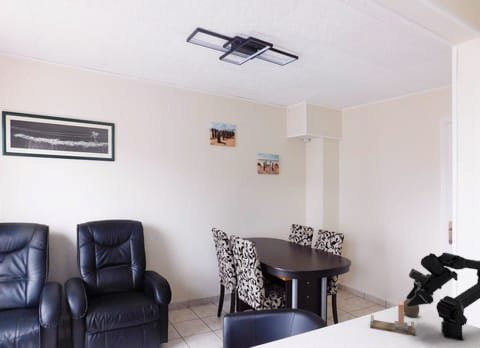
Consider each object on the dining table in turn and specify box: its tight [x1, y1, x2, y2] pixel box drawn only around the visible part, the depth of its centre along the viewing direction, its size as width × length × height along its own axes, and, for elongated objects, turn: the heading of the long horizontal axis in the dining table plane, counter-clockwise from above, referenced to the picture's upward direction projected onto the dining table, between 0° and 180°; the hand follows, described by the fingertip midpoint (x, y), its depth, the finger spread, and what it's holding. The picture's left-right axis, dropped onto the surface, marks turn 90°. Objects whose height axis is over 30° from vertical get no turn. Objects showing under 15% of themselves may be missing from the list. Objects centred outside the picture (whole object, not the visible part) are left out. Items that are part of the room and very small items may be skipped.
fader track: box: [370, 314, 416, 337], centre depth 139 cm, size 17×7×3 cm, turn 66°
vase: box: [403, 298, 420, 318], centre depth 153 cm, size 7×7×9 cm
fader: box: [393, 300, 409, 331], centre depth 138 cm, size 5×6×10 cm
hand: (407, 301), depth 138 cm, fingers open, 9 cm apart
